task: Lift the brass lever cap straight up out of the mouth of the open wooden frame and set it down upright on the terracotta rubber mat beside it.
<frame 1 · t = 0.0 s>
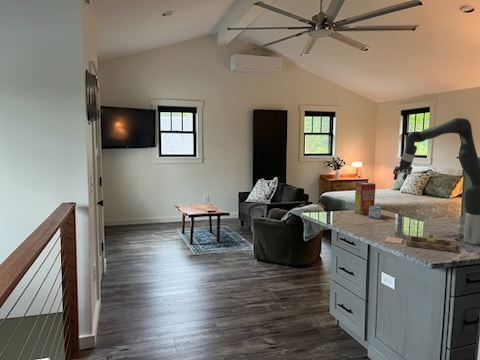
hand: (399, 179, 260), 31 cm above the countertop, tool tilted 20°, fingers open, 8 cm apart
mat: (393, 240, 212), on the countertop
lever cap: (430, 240, 203), in the open wooden frame
food packaging: (364, 213, 296), on the countertop
medicine box: (374, 218, 278), on the countertop
open wooden frame: (430, 245, 203), on the countertop
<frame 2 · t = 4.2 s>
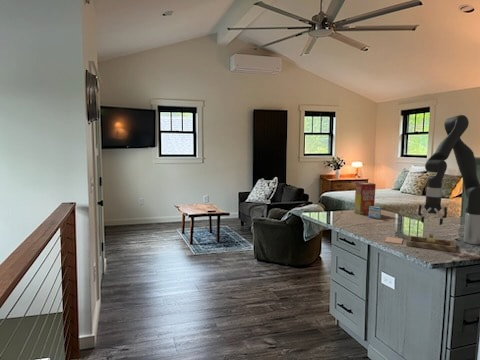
hand: (431, 224, 202), 12 cm above the countertop, tool pointing down, fingers open, 8 cm apart
nothing on the countertop moved.
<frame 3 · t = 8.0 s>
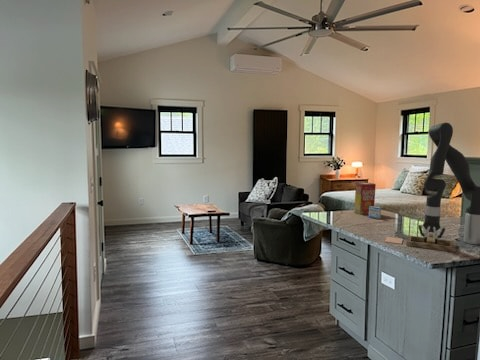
hand: (430, 244, 203), 1 cm above the countertop, tool pointing down, fingers closed on lever cap, 4 cm apart
lever cap: (430, 240, 203), in the open wooden frame, touching gripper
everything else where it was.
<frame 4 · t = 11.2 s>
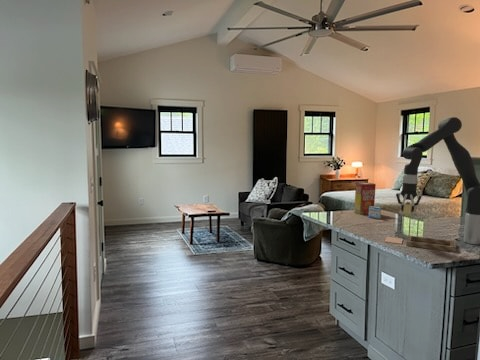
hand: (407, 211, 207), 18 cm above the countertop, tool pointing down, fingers closed on lever cap, 4 cm apart
lever cap: (407, 207, 207), point 20 cm above the countertop, touching gripper
everything else where it was.
when the fingers open (3 cm above the countertop, at t = 14.6 s): lever cap drops 1 cm, resting on mat.
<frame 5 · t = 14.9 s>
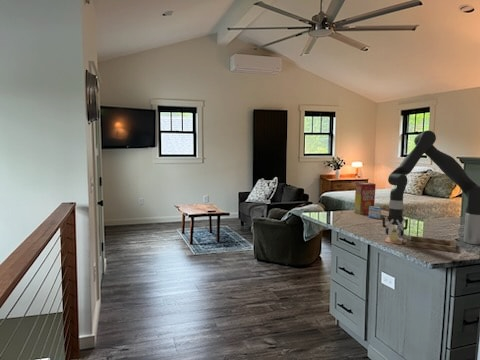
hand: (394, 235, 212), 3 cm above the countertop, tool pointing down, fingers open, 7 cm apart
lever cap: (394, 234, 212), on the mat
everything else where it was.
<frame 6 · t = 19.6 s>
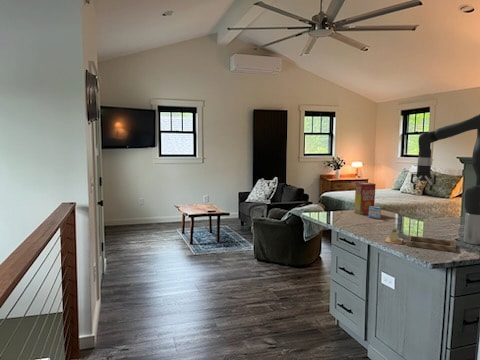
hand: (422, 190, 225), 28 cm above the countertop, tool pointing down, fingers open, 8 cm apart
nothing on the countertop moved.
at the end: lever cap inside the target area on the mat (0.0 cm from its centre), point 3.5 cm above the mat's base; lever cap tilted 0°; lever cap touching mat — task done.
